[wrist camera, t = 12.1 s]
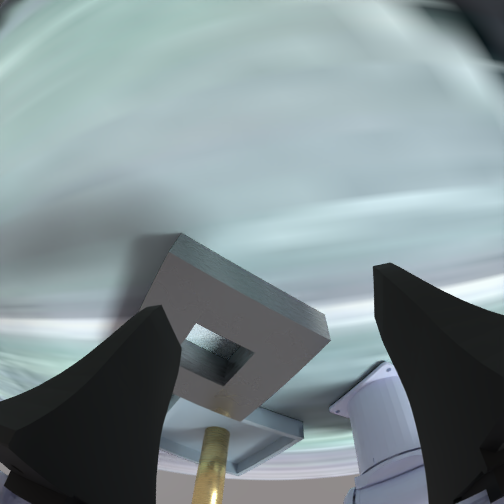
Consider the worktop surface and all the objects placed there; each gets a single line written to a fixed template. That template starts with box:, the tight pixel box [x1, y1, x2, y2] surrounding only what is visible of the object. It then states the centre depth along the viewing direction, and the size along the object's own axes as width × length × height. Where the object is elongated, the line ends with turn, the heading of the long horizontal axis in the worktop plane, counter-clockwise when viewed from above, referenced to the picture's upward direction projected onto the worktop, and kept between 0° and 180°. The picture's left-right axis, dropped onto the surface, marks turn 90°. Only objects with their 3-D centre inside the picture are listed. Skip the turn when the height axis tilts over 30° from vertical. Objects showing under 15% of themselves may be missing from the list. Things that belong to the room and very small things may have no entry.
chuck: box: [139, 233, 331, 422], centre depth 22 cm, size 12×12×3 cm
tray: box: [159, 394, 304, 476], centre depth 29 cm, size 13×13×2 cm
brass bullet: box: [192, 426, 230, 504], centre depth 25 cm, size 3×3×10 cm
